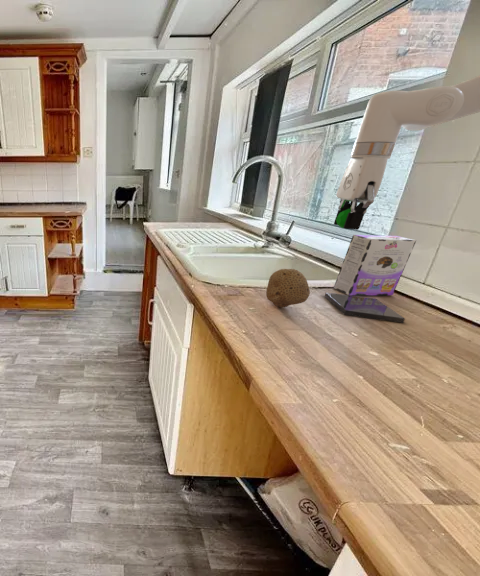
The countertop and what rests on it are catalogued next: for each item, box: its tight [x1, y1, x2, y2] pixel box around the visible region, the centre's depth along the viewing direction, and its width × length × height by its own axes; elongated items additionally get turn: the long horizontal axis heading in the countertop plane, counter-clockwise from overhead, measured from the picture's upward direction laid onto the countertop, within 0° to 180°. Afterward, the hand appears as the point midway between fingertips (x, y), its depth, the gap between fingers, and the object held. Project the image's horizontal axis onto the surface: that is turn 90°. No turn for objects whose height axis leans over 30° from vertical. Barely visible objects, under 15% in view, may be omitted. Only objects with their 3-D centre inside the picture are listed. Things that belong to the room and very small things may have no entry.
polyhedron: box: [336, 209, 351, 229], centre depth 80 cm, size 5×5×5 cm
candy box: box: [333, 234, 417, 296], centre depth 86 cm, size 14×6×16 cm, turn 94°
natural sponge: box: [265, 268, 311, 308], centre depth 75 cm, size 9×9×10 cm
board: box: [324, 292, 406, 324], centre depth 78 cm, size 12×12×1 cm
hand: (345, 226), depth 80 cm, fingers closed on polyhedron, 5 cm apart
